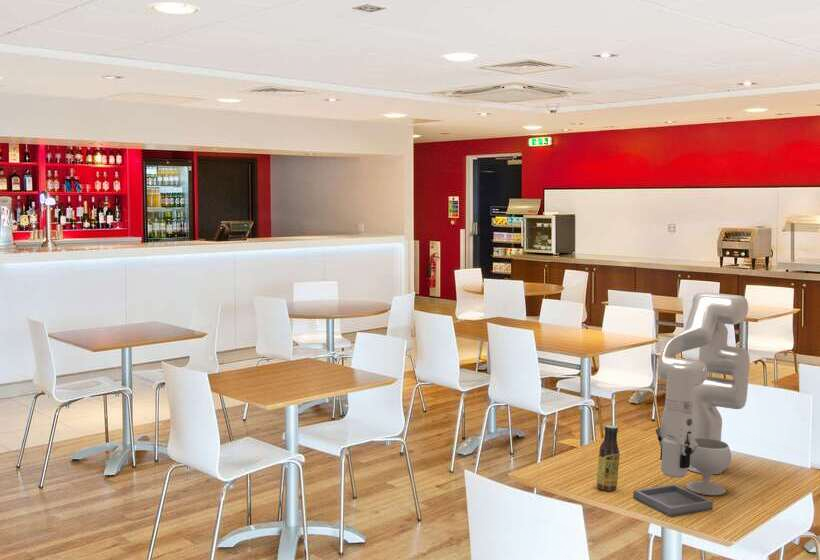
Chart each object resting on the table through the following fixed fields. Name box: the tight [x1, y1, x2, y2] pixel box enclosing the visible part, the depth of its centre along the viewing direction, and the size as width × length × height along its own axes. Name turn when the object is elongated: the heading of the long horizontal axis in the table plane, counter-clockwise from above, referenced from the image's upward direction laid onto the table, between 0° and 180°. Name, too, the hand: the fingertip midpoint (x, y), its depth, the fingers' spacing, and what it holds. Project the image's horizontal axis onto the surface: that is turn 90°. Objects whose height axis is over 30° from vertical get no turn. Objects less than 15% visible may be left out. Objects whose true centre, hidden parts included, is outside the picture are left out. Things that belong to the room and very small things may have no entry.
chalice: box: [684, 438, 732, 496], centre depth 270 cm, size 14×14×15 cm
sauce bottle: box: [596, 424, 621, 492], centre depth 268 cm, size 6×6×20 cm
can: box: [660, 435, 688, 479], centre depth 255 cm, size 8×8×12 cm
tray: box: [632, 483, 714, 518], centre depth 257 cm, size 16×16×2 cm
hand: (674, 463), depth 256 cm, fingers closed on can, 7 cm apart
